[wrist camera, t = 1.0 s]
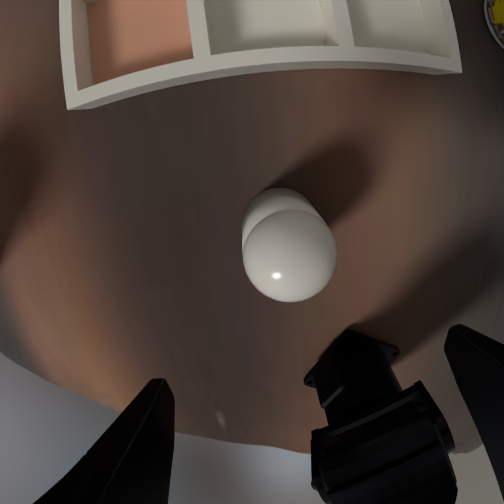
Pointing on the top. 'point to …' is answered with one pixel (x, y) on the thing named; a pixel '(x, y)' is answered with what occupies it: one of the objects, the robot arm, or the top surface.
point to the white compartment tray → (242, 41)
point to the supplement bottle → (495, 19)
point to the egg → (286, 246)
